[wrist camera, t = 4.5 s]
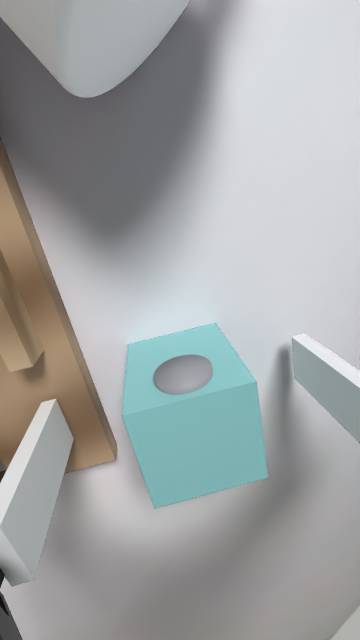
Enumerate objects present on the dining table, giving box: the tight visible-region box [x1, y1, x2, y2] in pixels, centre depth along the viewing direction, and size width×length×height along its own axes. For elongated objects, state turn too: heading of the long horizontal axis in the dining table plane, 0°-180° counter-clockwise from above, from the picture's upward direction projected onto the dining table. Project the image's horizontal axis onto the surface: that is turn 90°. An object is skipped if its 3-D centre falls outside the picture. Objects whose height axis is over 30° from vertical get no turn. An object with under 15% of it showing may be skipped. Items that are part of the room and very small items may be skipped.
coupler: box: [122, 323, 268, 509], centre depth 14 cm, size 6×5×6 cm
